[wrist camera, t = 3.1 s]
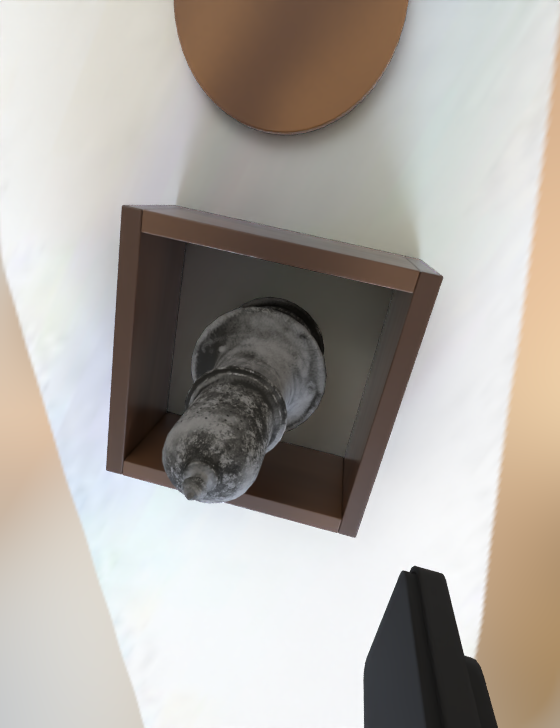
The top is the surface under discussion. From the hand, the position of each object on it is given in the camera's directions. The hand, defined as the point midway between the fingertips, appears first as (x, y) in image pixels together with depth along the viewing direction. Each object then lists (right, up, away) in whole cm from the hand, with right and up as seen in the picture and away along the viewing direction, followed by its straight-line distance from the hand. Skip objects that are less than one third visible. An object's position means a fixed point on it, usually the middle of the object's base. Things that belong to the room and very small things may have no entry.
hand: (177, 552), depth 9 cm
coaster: (+3, +18, +8) cm, 20 cm away
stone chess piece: (+2, +5, +13) cm, 14 cm away
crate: (+2, +5, +13) cm, 14 cm away
